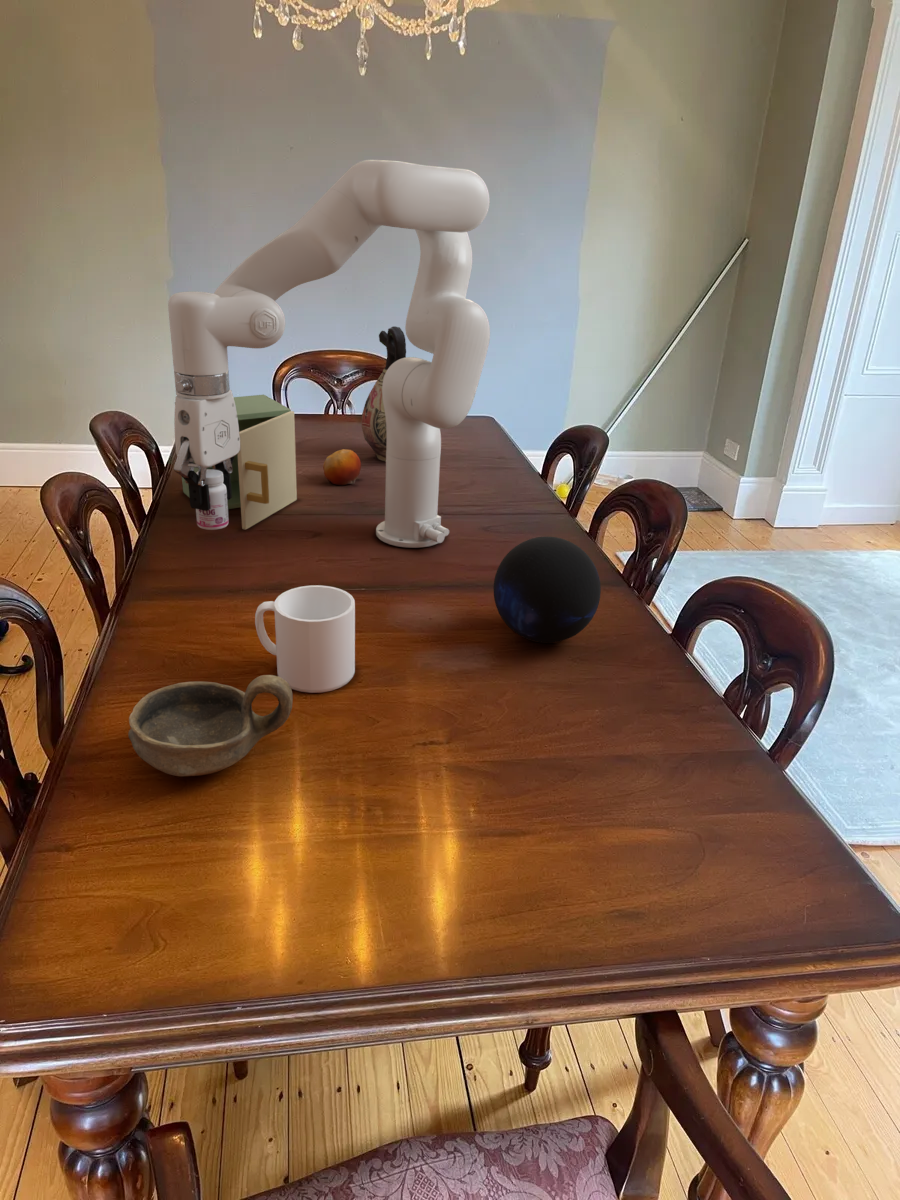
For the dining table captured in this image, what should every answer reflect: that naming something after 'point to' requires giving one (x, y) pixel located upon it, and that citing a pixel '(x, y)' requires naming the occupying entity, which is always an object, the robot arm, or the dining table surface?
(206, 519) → the pill bottle
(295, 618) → the mug
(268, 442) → the door
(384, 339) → the ceramic jug
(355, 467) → the fruit
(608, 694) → the dining table surface
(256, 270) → the robot arm
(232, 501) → the cupboard
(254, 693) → the bowl
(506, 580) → the decorative sphere
